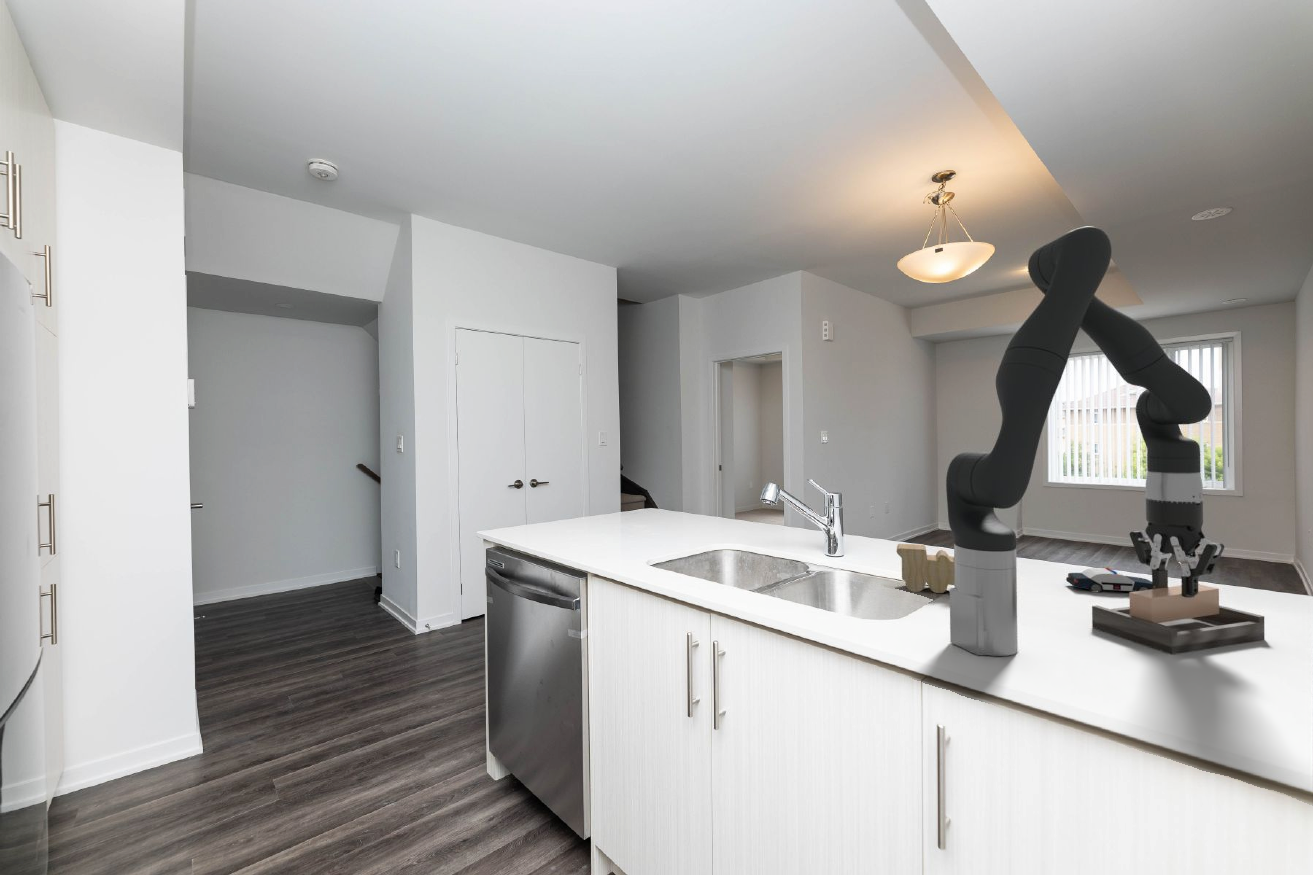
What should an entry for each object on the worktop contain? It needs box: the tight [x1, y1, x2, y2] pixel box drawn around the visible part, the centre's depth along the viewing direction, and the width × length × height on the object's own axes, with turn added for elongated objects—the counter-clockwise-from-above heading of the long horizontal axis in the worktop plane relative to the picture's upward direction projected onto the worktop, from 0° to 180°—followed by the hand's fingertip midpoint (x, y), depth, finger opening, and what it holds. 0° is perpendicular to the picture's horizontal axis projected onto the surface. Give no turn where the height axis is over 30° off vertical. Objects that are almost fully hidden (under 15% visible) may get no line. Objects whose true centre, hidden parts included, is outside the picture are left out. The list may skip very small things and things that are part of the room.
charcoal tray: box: [1091, 604, 1265, 655], centre depth 101 cm, size 21×13×4 cm, turn 104°
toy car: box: [1065, 567, 1155, 593], centre depth 127 cm, size 5×16×5 cm, turn 71°
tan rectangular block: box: [1128, 583, 1220, 623], centre depth 101 cm, size 16×4×4 cm, turn 104°
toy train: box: [896, 543, 955, 594], centre depth 130 cm, size 6×17×10 cm, turn 66°
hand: (1174, 592), depth 101 cm, fingers closed on tan rectangular block, 3 cm apart
